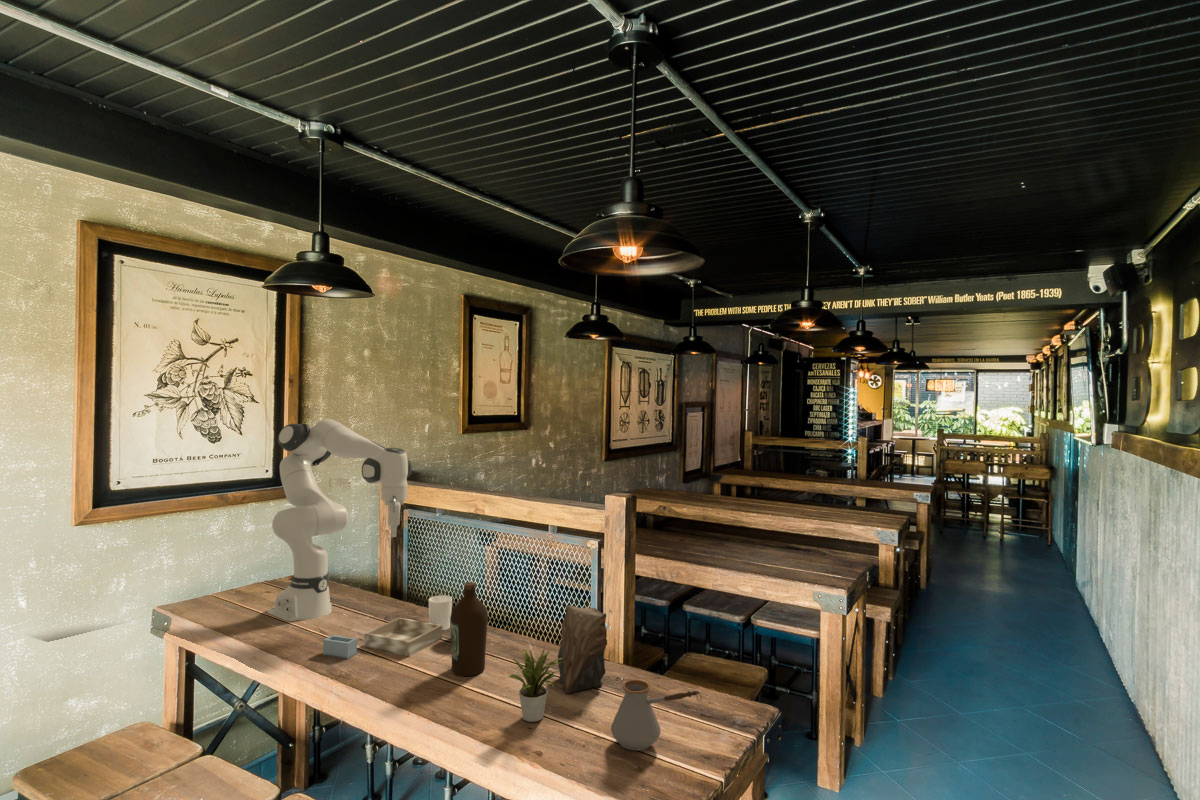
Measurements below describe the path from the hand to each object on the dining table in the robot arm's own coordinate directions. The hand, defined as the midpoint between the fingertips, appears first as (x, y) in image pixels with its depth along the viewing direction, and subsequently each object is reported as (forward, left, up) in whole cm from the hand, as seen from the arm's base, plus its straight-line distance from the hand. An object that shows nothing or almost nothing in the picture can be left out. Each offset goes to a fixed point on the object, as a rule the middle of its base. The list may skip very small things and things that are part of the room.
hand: (393, 534), depth 218 cm
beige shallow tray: (+16, -13, -31) cm, 37 cm away
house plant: (+77, -38, -31) cm, 91 cm away
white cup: (+18, +3, -31) cm, 36 cm away
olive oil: (+46, -21, -31) cm, 59 cm away
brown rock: (+79, -14, -31) cm, 86 cm away
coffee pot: (+108, -38, -31) cm, 119 cm away
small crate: (+5, -29, -31) cm, 43 cm away
